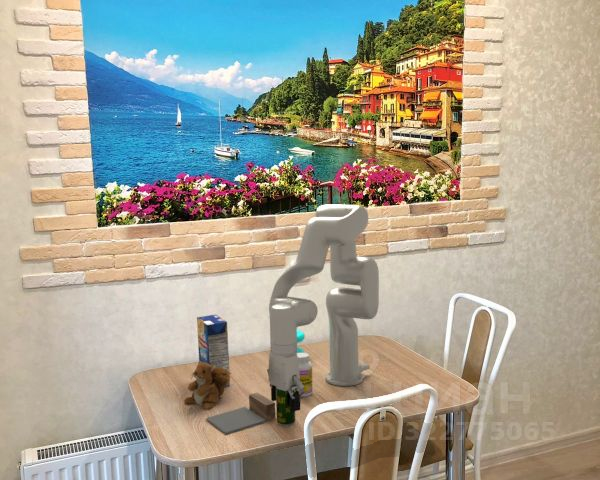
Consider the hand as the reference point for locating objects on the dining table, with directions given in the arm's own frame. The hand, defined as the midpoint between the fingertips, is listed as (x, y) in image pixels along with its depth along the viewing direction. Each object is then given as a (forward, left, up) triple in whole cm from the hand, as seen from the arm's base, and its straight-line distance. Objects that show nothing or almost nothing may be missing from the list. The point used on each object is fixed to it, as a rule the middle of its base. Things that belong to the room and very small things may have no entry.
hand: (285, 405), depth 183 cm
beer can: (0, 0, -6) cm, 6 cm away
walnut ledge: (+2, -10, -5) cm, 11 cm away
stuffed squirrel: (+10, -28, -6) cm, 31 cm away
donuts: (-32, -45, -6) cm, 56 cm away
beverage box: (+2, -41, -6) cm, 41 cm away
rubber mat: (+11, -10, -5) cm, 16 cm away
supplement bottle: (-16, -15, -6) cm, 23 cm away
